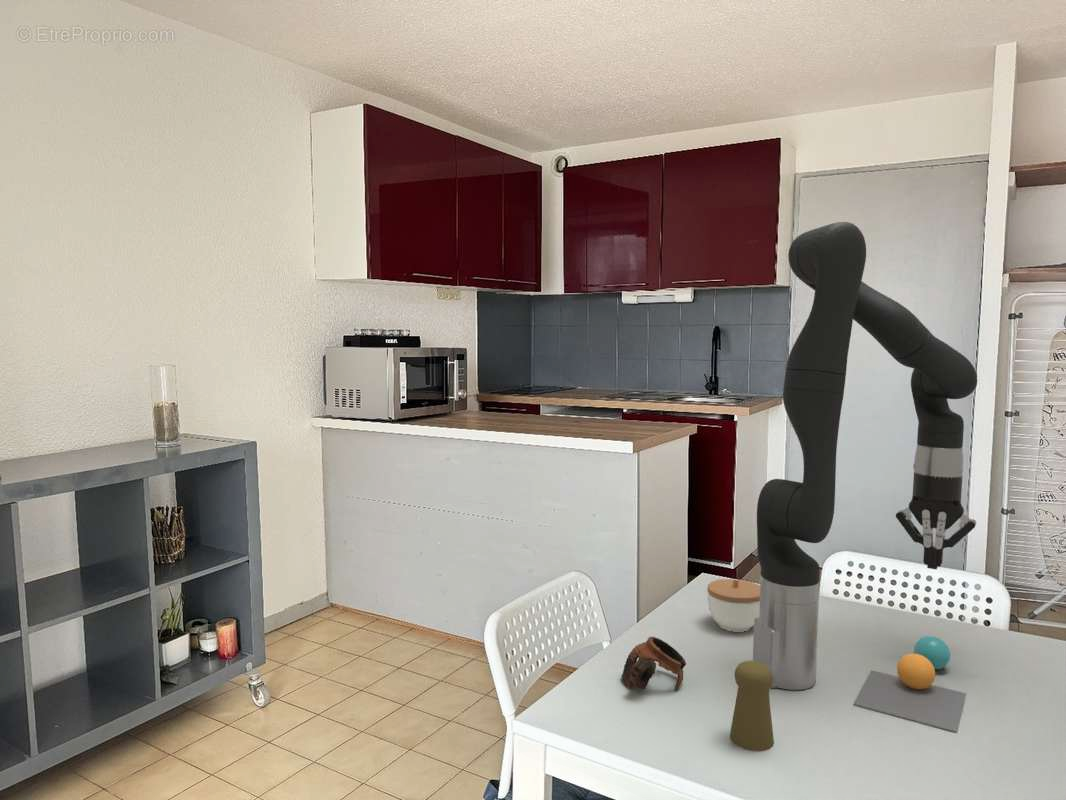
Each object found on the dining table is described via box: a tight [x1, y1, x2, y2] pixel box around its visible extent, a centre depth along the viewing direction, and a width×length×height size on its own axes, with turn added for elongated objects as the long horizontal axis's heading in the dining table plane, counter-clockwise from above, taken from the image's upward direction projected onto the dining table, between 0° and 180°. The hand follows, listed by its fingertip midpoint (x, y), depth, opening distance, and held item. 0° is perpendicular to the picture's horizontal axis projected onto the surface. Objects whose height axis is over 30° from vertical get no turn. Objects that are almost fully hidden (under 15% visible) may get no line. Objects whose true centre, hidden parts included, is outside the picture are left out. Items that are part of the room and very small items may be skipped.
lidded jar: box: [707, 578, 760, 633], centre depth 145 cm, size 11×11×9 cm
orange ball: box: [896, 653, 936, 690], centre depth 120 cm, size 6×6×6 cm
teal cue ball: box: [913, 635, 951, 671], centre depth 127 cm, size 6×6×6 cm
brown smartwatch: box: [621, 636, 687, 690], centre depth 121 cm, size 12×10×8 cm
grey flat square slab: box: [853, 670, 967, 734], centre depth 117 cm, size 14×14×1 cm
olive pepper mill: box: [729, 660, 775, 752], centre depth 105 cm, size 6×6×11 cm
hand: (932, 567), depth 131 cm, fingers closed
